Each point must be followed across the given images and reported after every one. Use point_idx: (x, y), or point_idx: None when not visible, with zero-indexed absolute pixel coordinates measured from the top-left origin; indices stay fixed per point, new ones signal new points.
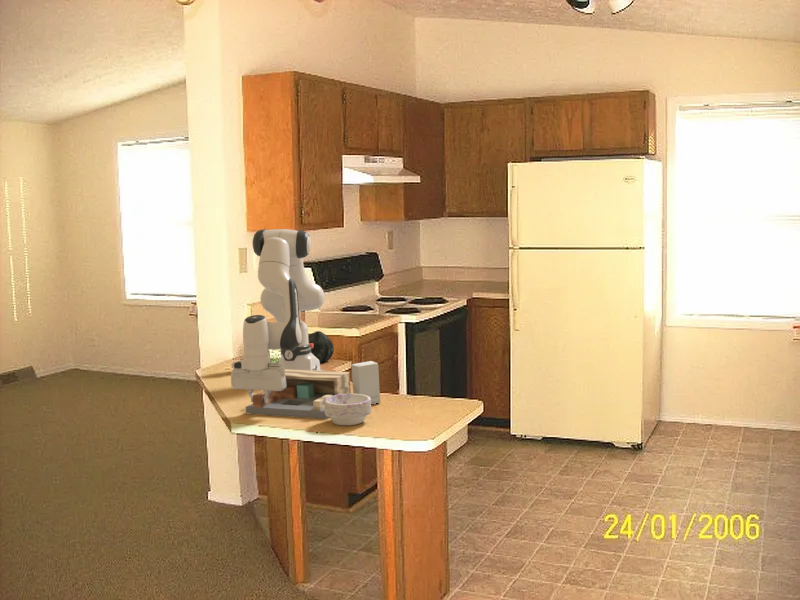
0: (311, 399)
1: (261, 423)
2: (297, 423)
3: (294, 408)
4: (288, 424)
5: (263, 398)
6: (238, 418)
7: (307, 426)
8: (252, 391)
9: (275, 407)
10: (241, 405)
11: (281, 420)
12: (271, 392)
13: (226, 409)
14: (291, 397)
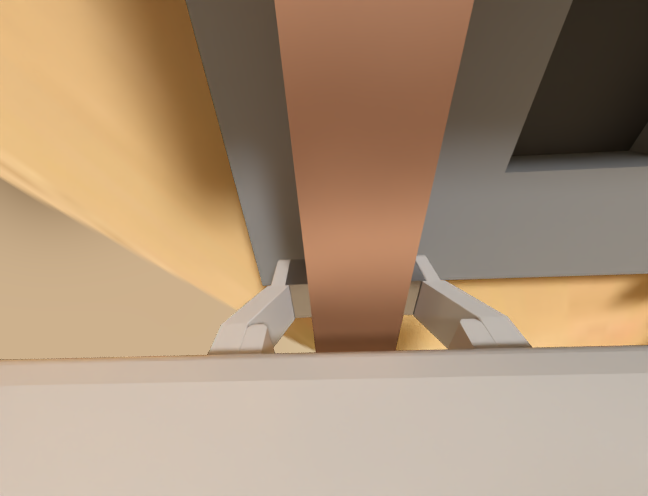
0: None
1: (431, 347)
2: (594, 323)
3: (637, 251)
4: (551, 338)
5: (406, 312)
6: (295, 320)
7: (637, 341)
8: (273, 351)
9: (480, 259)
10: (3, 41)
11: (512, 306)
12: (436, 128)
13: (65, 204)
14: None
